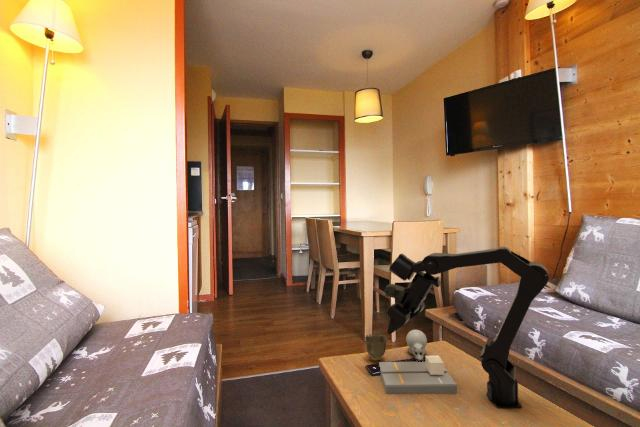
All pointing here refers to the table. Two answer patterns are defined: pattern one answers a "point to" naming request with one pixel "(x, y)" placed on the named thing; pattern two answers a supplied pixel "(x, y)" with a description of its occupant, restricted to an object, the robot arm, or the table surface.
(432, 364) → the fader cap
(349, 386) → the table surface
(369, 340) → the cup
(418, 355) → the chubby cartoon animal
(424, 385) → the console board
